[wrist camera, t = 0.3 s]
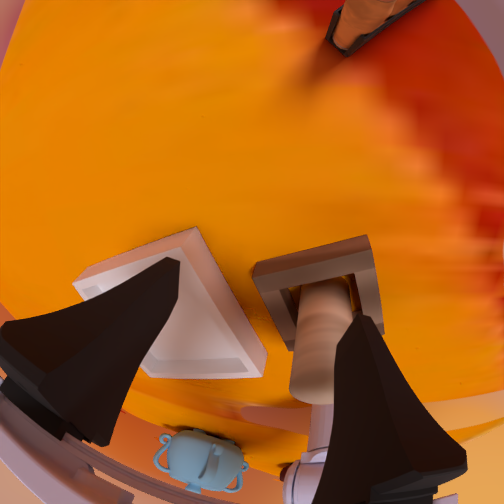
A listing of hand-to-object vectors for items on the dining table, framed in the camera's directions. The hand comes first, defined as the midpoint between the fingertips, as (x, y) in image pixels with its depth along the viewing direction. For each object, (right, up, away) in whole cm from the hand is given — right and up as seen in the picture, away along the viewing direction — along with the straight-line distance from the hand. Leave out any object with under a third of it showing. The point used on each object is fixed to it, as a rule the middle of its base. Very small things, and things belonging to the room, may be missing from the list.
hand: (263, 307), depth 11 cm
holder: (+5, -1, +11) cm, 12 cm away
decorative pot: (-9, -37, +38) cm, 54 cm away
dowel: (+5, -1, +11) cm, 12 cm away
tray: (-9, -4, +16) cm, 19 cm away
